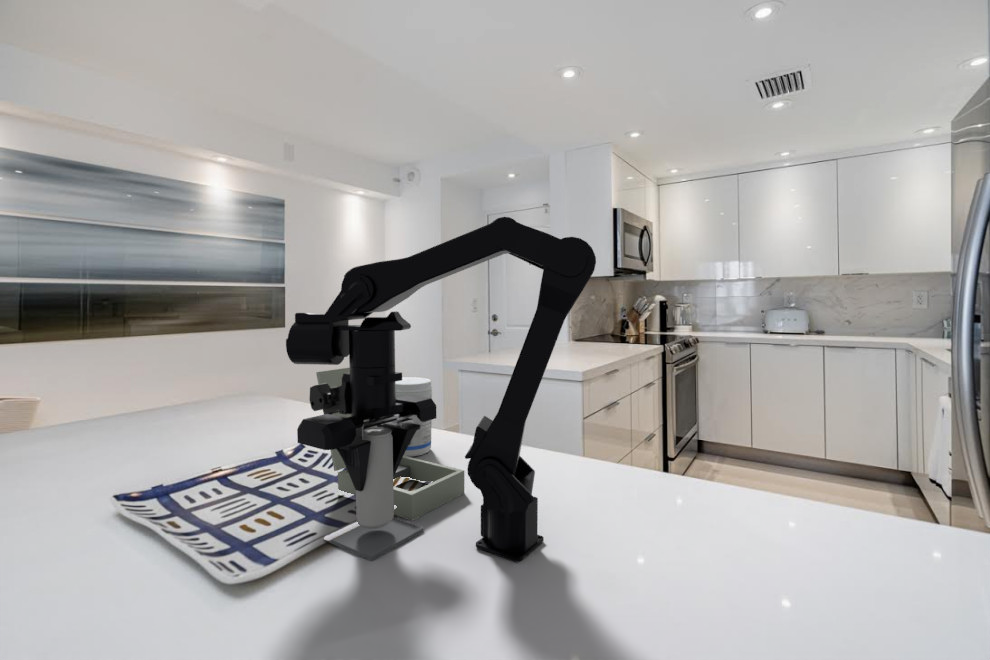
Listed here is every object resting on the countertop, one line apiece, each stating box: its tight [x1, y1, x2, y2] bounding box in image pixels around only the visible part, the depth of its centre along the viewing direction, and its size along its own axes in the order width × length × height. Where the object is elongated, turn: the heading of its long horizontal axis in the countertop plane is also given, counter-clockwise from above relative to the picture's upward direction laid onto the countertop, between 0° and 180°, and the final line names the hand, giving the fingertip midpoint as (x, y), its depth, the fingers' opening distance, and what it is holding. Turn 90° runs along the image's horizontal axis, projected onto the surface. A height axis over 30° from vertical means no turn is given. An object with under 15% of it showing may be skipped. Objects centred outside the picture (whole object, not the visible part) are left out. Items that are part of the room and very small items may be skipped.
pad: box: [328, 516, 424, 562], centre depth 64 cm, size 9×9×1 cm
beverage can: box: [355, 427, 395, 529], centre depth 64 cm, size 5×5×12 cm
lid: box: [316, 367, 377, 472], centre depth 83 cm, size 16×12×1 cm
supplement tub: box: [395, 376, 433, 458], centre depth 100 cm, size 10×10×15 cm
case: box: [337, 455, 465, 521], centre depth 78 cm, size 16×12×4 cm
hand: (374, 484), depth 64 cm, fingers closed on beverage can, 5 cm apart
